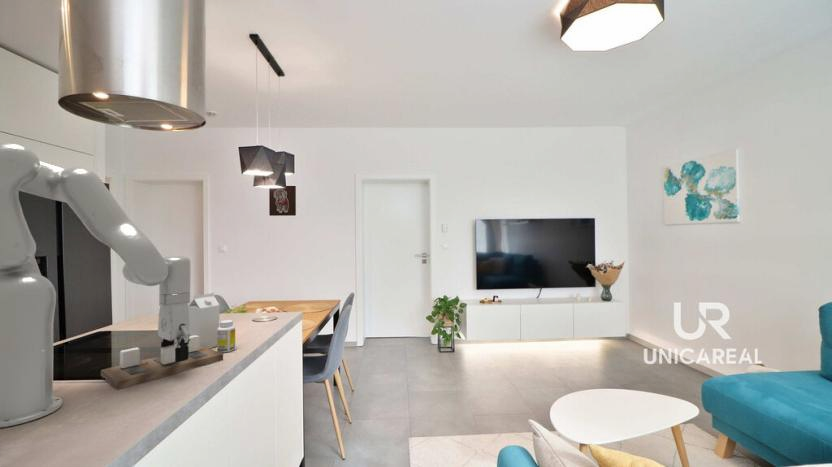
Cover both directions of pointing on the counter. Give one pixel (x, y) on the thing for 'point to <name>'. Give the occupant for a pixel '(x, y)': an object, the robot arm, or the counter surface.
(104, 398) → the counter surface
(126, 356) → the knob left
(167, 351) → the knob middle
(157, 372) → the switch board
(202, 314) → the milk carton
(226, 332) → the supplement bottle
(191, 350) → the knob right
